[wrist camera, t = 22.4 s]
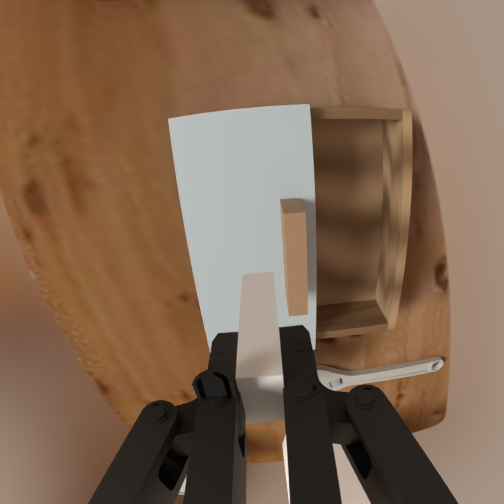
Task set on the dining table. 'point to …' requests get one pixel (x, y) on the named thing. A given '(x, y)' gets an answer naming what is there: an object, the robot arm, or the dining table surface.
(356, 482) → the milk
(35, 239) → the dining table surface
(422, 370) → the adjustable wrench
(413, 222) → the dining table surface
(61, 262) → the dining table surface
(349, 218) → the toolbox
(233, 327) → the lid
